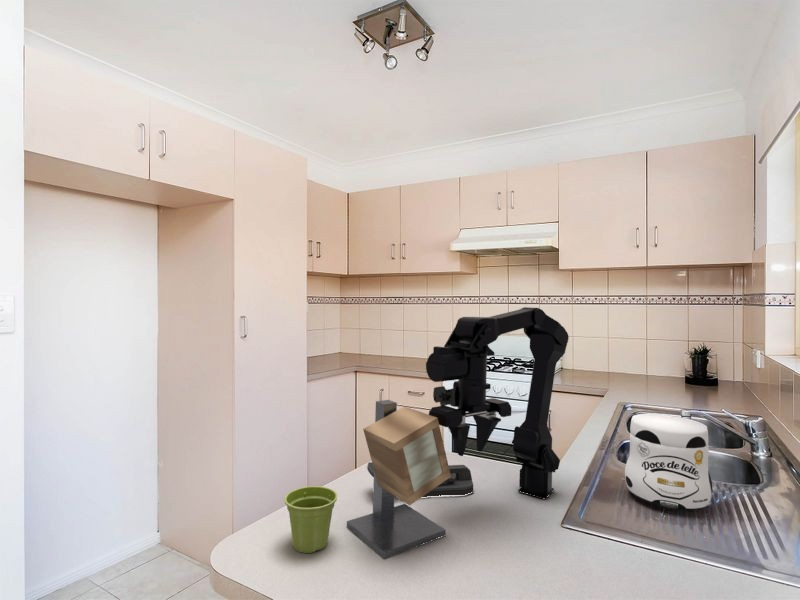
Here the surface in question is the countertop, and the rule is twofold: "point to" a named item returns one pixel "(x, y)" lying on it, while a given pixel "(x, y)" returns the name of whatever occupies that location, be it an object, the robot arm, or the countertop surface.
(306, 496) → the plant pot
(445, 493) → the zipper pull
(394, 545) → the post stand
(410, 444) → the cardboard box
